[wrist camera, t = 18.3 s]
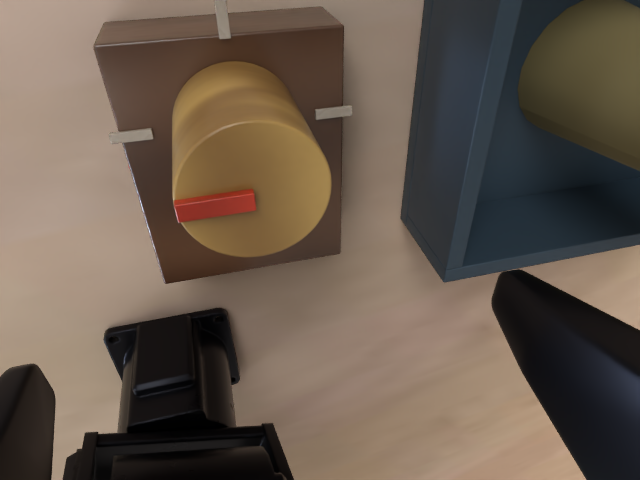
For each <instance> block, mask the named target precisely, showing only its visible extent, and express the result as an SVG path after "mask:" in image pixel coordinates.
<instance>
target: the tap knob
mask: <svg viewBox="0 0 640 480" xmlns="http://www.w3.org/2000/svg"><path fill="white" fill-rule="evenodd" d="M331 186H332V180H331V172H330V168H329V165H328V162H327V160H326V157H325V155H324V154H323V152H322V150H321V148H320V146H319V145H318V143H317V141H316V139H315V137H314V135H313V134H312V132H311V130H310V128H309V126H308V125H307V123H306V121H305V119H304V117H303V115H302V114H301V112H300V110H299V108H298V106H297V105H296V103H295V101H294V99H293V97H292V96H291V94H290V92H289V90H288V89H287V87H286V86H285V85H284V84H283V82H282V81H281V80H280V79H279V78H278V77H277V76H275V75H274V74H273V73H271V72H270V71H268V70H266V69H264V68H263V67H260V66H258V65H255V64H252V63H247V62H240V61H228V62H222V63H217V64H214V65H211V66H209V67H207V68H204V69H202V70H201V71H199V72H198V73H196V74H195V75H194V76H193V77H191V78H190V79H189V80H188V81H187V82H186V84H185V85H184V86H183V87H182V89H181V91H180V92H179V94H178V96H177V98H176V101H175V104H174V108H173V114H172V197H173V203H174V209H175V213H176V216H177V220H178V222H179V223H180V222H181V224H182V225H183V226H184V228H185V229H186V231H187V232H188V233H189V234H190V235H191V236H192V237H193V238H194V239H196V240H197V241H198V242H199V243H201V244H202V245H204V246H206V247H207V248H209V249H211V250H214V251H216V252H219V253H222V254H225V255H230V256H235V257H259V256H265V255H270V254H273V253H276V252H279V251H282V250H284V249H287V248H289V247H291V246H292V245H294V244H296V243H297V242H299V241H300V240H302V239H303V238H304V237H306V236H307V235H308V234H309V233H310V232H311V231H312V230H313V229H314V228H315V226H316V225H317V224H318V223H319V221H320V220H321V218H322V217H323V215H324V213H325V211H326V209H327V206H328V203H329V200H330V195H331Z"/></svg>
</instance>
